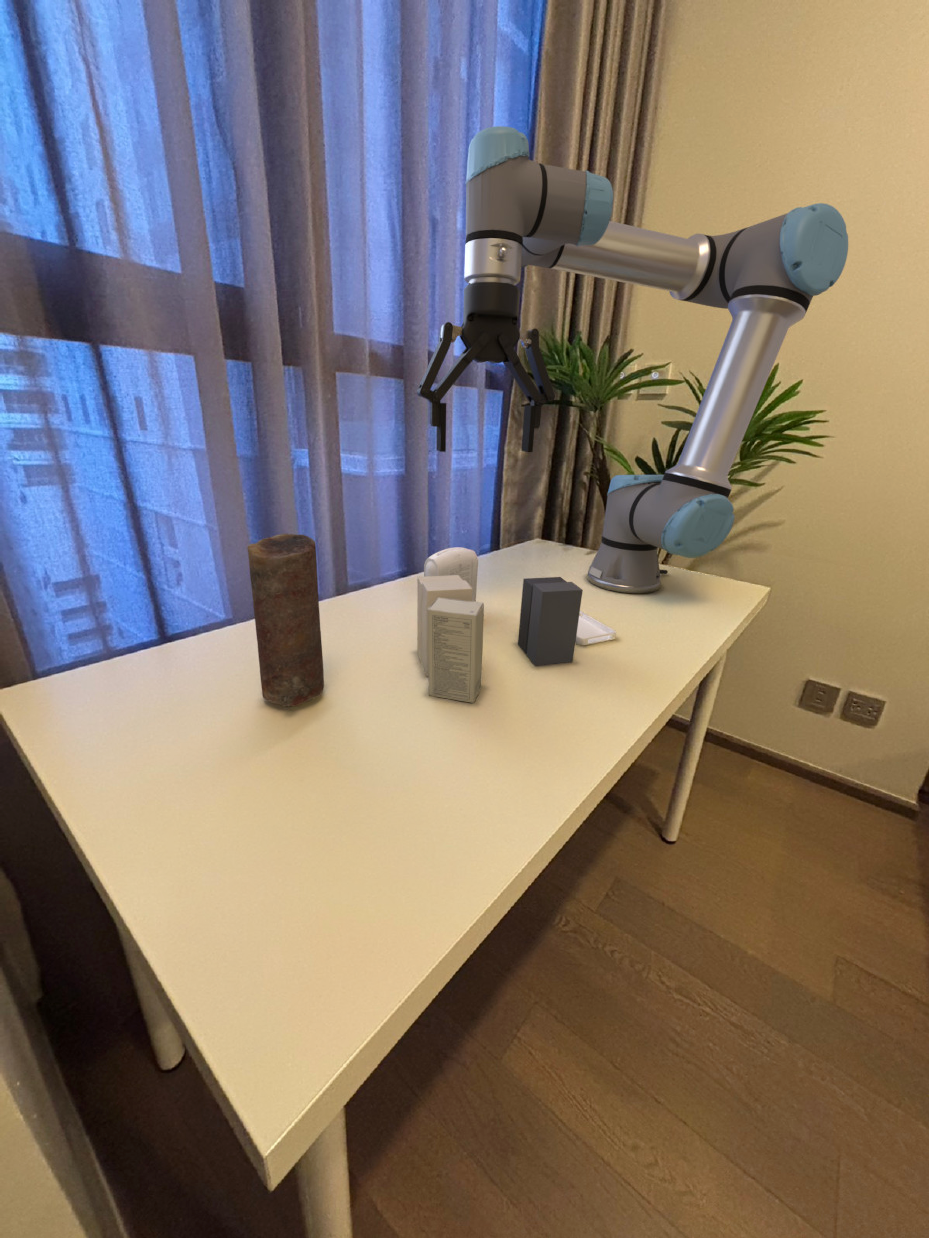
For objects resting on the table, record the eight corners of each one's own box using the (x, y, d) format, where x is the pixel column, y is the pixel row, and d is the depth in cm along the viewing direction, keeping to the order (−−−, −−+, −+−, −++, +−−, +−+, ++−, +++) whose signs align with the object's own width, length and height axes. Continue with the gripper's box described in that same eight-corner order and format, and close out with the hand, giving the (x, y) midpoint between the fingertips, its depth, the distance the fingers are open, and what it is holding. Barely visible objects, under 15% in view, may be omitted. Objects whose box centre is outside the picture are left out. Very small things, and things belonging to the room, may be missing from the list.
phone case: (529, 612, 92) (580, 646, 80) (530, 605, 92) (581, 638, 79) (562, 607, 95) (616, 639, 83) (563, 600, 95) (618, 631, 82)
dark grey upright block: (552, 641, 81) (560, 573, 76) (572, 662, 75) (582, 589, 70) (517, 644, 80) (523, 575, 75) (534, 666, 73) (542, 591, 69)
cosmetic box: (481, 687, 67) (486, 602, 62) (473, 705, 63) (478, 615, 58) (436, 679, 68) (438, 595, 64) (425, 696, 64) (426, 608, 60)
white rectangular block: (456, 649, 77) (458, 571, 72) (468, 672, 71) (472, 588, 66) (417, 652, 76) (417, 573, 71) (426, 676, 69) (427, 590, 64)
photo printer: (462, 606, 93) (465, 541, 89) (479, 613, 91) (482, 546, 86) (419, 620, 87) (419, 550, 82) (435, 628, 84) (436, 556, 79)
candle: (339, 693, 64) (328, 539, 56) (294, 721, 58) (275, 553, 51) (296, 676, 68) (281, 529, 60) (250, 701, 62) (226, 541, 54)
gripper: (404, 270, 61) (407, 453, 70) (589, 288, 68) (571, 454, 76) (395, 282, 68) (398, 448, 76) (564, 298, 74) (550, 449, 83)
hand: (484, 451), depth 76 cm, fingers open, 13 cm apart
